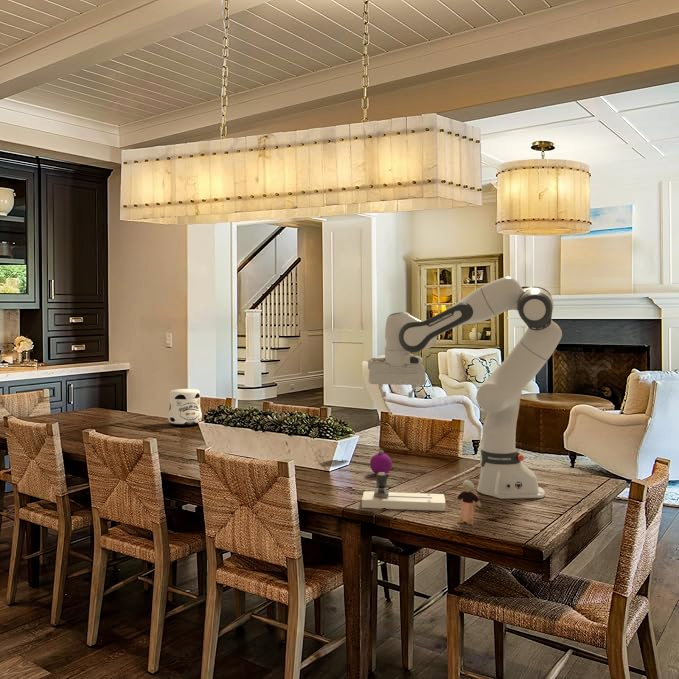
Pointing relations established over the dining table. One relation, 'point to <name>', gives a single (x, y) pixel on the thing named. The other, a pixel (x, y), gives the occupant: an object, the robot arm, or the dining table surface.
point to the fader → (381, 485)
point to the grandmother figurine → (467, 502)
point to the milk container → (184, 407)
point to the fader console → (405, 501)
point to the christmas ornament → (380, 463)
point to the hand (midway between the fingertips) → (397, 397)
